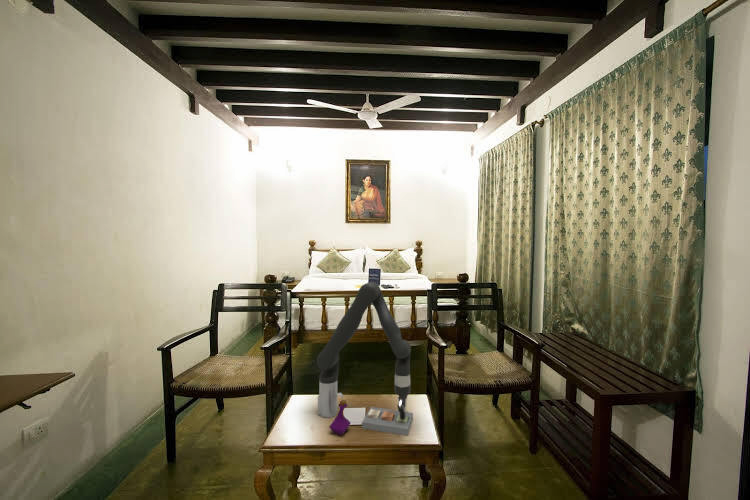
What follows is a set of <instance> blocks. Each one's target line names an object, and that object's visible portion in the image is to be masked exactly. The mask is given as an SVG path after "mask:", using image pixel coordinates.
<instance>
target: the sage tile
mask: <svg viewBox="0 0 750 500" xmlns="http://www.w3.org/2000/svg"><path fill="white" fill-rule="evenodd" d="M396 422H401V423H407V422H408V416H405V419H400V415H398V417H397V419H396Z"/></svg>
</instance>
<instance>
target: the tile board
mask: <svg viewBox="0 0 750 500" xmlns="http://www.w3.org/2000/svg"><path fill="white" fill-rule="evenodd" d="M371 409H374V410H380V411H381V415H380V417H379V419H374V418H368V413H369V412H370V410H371ZM384 411H387V412H394V418H393V421H387V420H382V415H383V413H384ZM398 415H400V412H399V411H398V410H397V409H395V410H394V409H390V408H389V409H388V408H382V407H376V406H374V407H373V406H370V408H369V409H368V411H367V413H366V414H365V416H364V418H363V420H362V421H361V429H362V430H363V429H364V430H371V431H377V432H384V433H388V434H390V433H391V434H396V435H402V436H407V437H408V435H409V433H410V430H411V426H412V423H413V420H414V412H411V411H410V412H409V411H405V416H408V422H407V423H401V422H396V419H397V417H398Z"/></svg>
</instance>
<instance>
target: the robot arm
mask: <svg viewBox="0 0 750 500" xmlns="http://www.w3.org/2000/svg"><path fill="white" fill-rule="evenodd" d="M371 304H372V306H373V307H374V309H375V312H376V313H377V316H378V319H379V324H380V326H381V328H382V331H383V332H384V333H385V335H386V337H387V338H388V341H389V342H388V343H389V345H390V347H391V350H392V352H393V354H394V356H395V357H396V362H395V365H394V367H395V368H394V370H395V371H394V393H395V395H398V396H397V402H398V404H397V409H398V410H397V411H399V412H400V419H405V412H406V409H407V408H406V407H407V401H408V396H409V395H410V394H411V371H410V370H411V365H410V363H411V356H412V354H411V353H412V348H411V347H412V346H411V344H410V342H409V341H408V340H406V339H403V338H402V330H401V329H400V327H399V326H398V324H397V322H396V320H395V318H394V317H393V315H392V313H391V311H390V309H389V307H388V304H387V303H386V300H385V297H384V295H383V293H382V289H381V287H380V285H379V284H378V283H377V282H374V281H370V282H366V283H364V284H362V285H361V286H360V288H359V289H358V292H357V293H356V295H355V298H354V300H353V301H352V304H351V305H350V306H349V307H348V309H347V311H346V312H345V314H344V315H343V316H342V318H341V320H340V321H339V322H338V324H337V326H336V328H335V330H334V331H333V332H332V335H331V337H330V339H329V340H328V342H327V343H326V345H325V346H324V347H323V349H322V350H321V351H320V352H319V354H318V356H317V358H316V365H317V366H318V368H319V369H320V370H321V371H320V374H319V376H318V377H319V381H318V382H319V387H318V388H319V394H318V396H317V415H318V416H320V417H323V418H333V417H336V416H337V415H338V395H337V394H338V376H339V373H340V351H342V350H343V348H344V347H345V346H346V345H347V343H348V342H350V341H351V339H352V337H353V336H354V334H356V332H357V330H358V328H359V327H360V324H361V322H362V319H363V316H364V314H365V312H366V311H367V309H368V308H369V306H370V305H371ZM336 395H337V397H336Z"/></svg>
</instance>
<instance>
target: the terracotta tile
mask: <svg viewBox="0 0 750 500" xmlns="http://www.w3.org/2000/svg"><path fill="white" fill-rule="evenodd" d="M393 418H394V412H387V411H384V413H383V415H382V420H387V421H393Z"/></svg>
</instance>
